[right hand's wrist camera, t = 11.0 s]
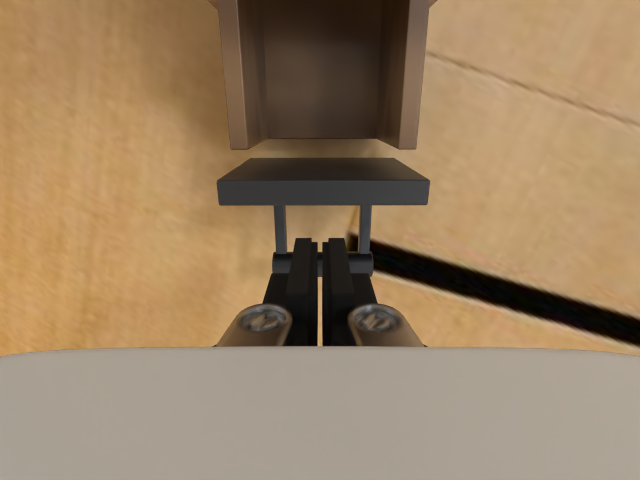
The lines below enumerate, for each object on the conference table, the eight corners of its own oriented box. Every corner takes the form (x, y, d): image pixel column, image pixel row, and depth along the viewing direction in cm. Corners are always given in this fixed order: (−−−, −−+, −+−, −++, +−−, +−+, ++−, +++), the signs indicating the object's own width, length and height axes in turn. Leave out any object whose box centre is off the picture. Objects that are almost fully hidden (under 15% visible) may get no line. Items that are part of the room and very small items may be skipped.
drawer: (388, 245, 26) (417, 302, 18) (255, 245, 26) (228, 302, 18) (410, -71, 19) (471, -193, 11) (233, -71, 19) (176, -192, 11)
